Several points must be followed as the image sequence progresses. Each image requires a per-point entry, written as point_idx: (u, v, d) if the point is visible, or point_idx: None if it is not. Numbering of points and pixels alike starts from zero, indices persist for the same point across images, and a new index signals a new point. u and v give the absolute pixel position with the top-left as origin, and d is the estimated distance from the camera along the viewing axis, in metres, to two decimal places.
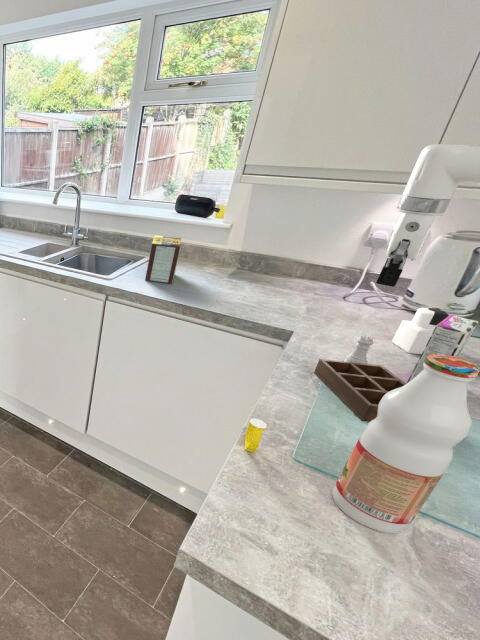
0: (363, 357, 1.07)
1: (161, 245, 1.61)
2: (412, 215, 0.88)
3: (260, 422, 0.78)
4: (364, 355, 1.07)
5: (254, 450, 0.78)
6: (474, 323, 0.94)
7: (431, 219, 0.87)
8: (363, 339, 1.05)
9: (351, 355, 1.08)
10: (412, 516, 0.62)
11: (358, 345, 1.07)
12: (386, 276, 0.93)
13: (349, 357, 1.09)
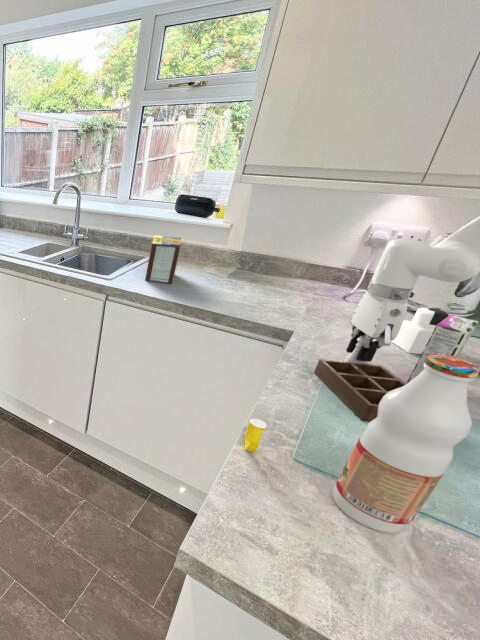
0: None
1: (161, 245, 1.61)
2: (394, 303, 0.97)
3: (260, 422, 0.78)
4: None
5: (254, 450, 0.78)
6: (474, 323, 0.94)
7: (407, 305, 0.97)
8: (363, 339, 1.05)
9: (351, 355, 1.08)
10: (412, 516, 0.62)
11: (358, 345, 1.07)
12: (366, 355, 1.05)
13: (349, 357, 1.09)
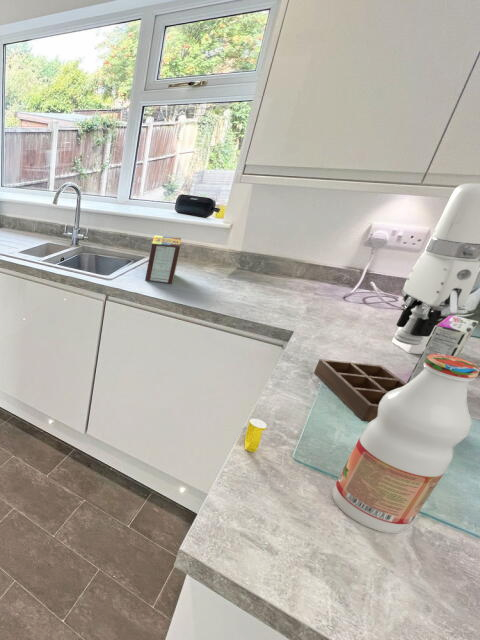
0: None
1: (161, 245, 1.61)
2: (463, 262, 0.79)
3: (260, 422, 0.78)
4: None
5: (254, 450, 0.78)
6: (474, 323, 0.94)
7: None
8: (419, 309, 0.88)
9: (403, 329, 0.90)
10: (412, 516, 0.62)
11: (413, 317, 0.89)
12: (424, 328, 0.87)
13: (401, 332, 0.91)
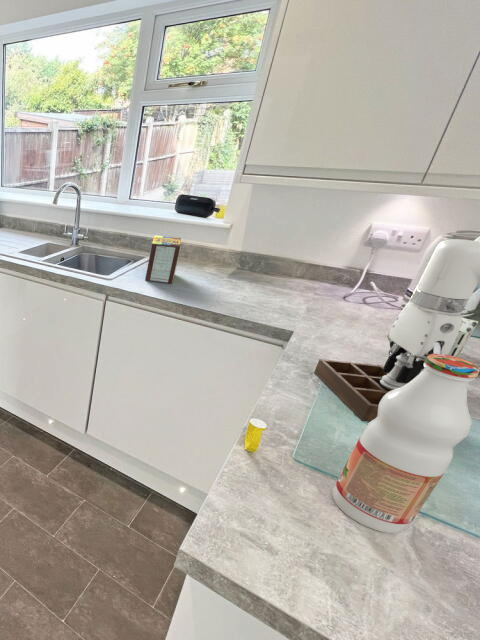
0: None
1: (161, 245, 1.61)
2: (446, 316, 0.81)
3: (260, 422, 0.78)
4: None
5: (254, 450, 0.78)
6: (474, 323, 0.94)
7: (461, 319, 0.81)
8: (404, 357, 0.89)
9: (389, 376, 0.92)
10: (412, 516, 0.62)
11: (398, 364, 0.91)
12: (409, 376, 0.88)
13: (386, 378, 0.93)
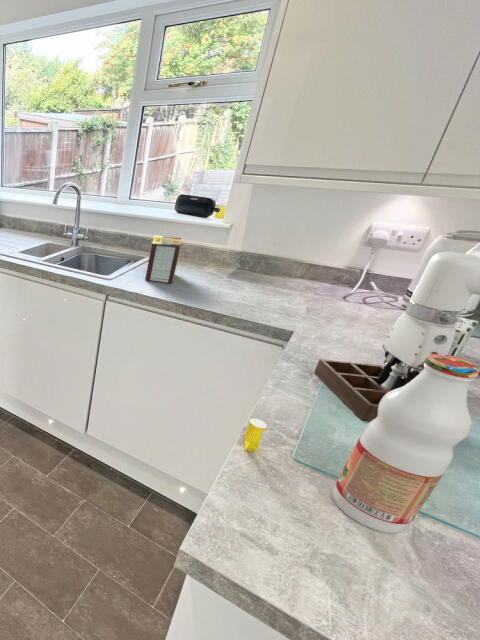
0: None
1: (161, 245, 1.61)
2: (439, 328, 0.82)
3: (260, 422, 0.78)
4: None
5: (254, 450, 0.78)
6: (474, 323, 0.94)
7: None
8: (399, 368, 0.90)
9: (384, 385, 0.93)
10: (412, 516, 0.62)
11: (393, 374, 0.92)
12: None
13: None
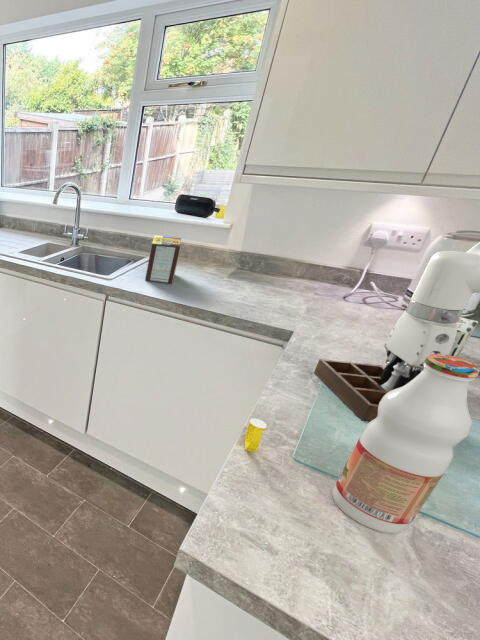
0: None
1: (161, 245, 1.61)
2: (441, 327, 0.82)
3: (260, 422, 0.78)
4: None
5: (254, 450, 0.78)
6: (474, 323, 0.94)
7: (456, 330, 0.82)
8: (401, 367, 0.90)
9: (386, 385, 0.93)
10: (412, 516, 0.62)
11: (395, 374, 0.91)
12: None
13: (384, 387, 0.93)
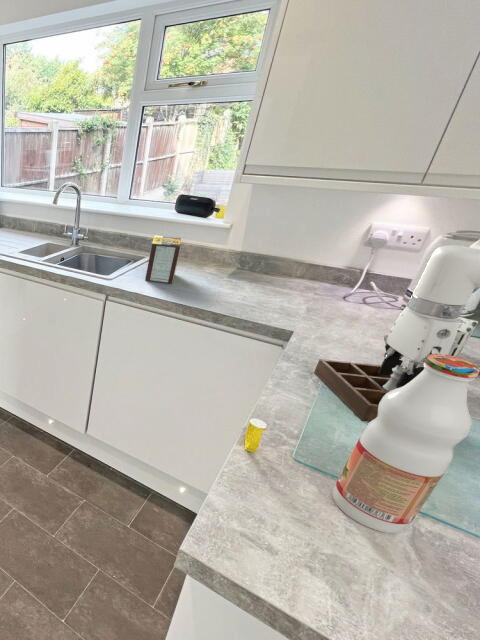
0: None
1: (161, 245, 1.61)
2: (442, 322, 0.82)
3: (260, 422, 0.78)
4: None
5: (254, 450, 0.78)
6: (474, 323, 0.94)
7: None
8: (400, 370, 0.91)
9: (385, 387, 0.93)
10: (412, 516, 0.62)
11: (394, 376, 0.92)
12: None
13: None
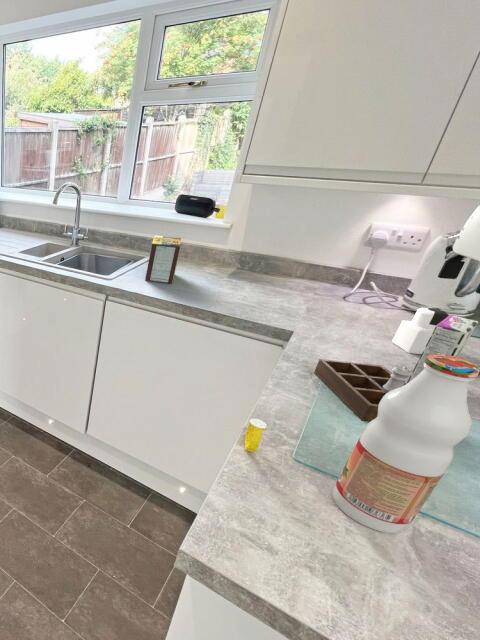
0: None
1: (161, 245, 1.61)
2: None
3: (260, 422, 0.78)
4: None
5: (254, 450, 0.78)
6: (474, 323, 0.94)
7: None
8: (400, 370, 0.91)
9: (385, 387, 0.93)
10: (412, 516, 0.62)
11: (393, 376, 0.92)
12: None
13: None
